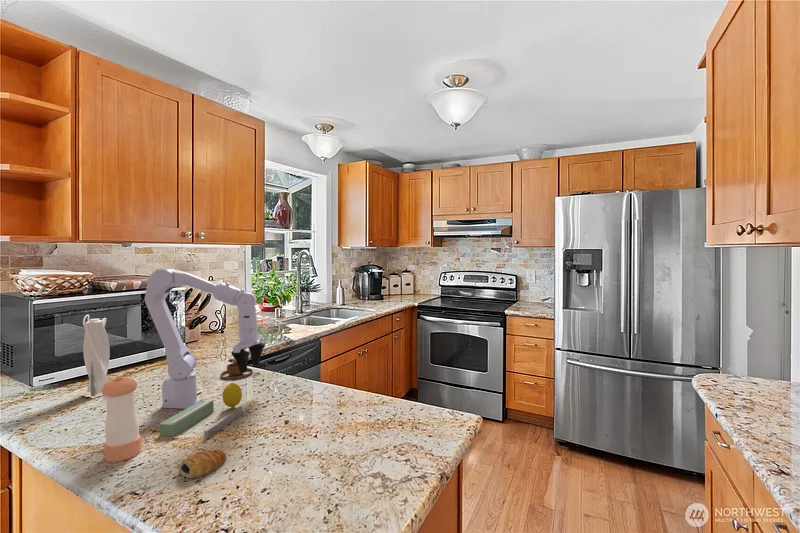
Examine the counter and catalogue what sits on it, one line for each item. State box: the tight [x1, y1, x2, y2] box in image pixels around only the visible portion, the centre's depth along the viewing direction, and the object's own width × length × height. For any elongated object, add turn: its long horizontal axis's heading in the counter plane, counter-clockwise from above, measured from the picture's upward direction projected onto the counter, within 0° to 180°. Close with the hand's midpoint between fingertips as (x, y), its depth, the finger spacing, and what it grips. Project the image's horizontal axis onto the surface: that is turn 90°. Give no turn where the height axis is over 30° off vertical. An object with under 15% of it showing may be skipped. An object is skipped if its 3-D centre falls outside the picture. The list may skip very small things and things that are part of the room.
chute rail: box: [203, 405, 244, 439], centre depth 110 cm, size 1×16×2 cm, turn 170°
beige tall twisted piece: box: [82, 314, 111, 396], centre depth 138 cm, size 8×8×28 cm
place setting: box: [219, 362, 261, 381], centre depth 159 cm, size 18×20×6 cm
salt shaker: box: [101, 375, 142, 463], centre depth 95 cm, size 7×7×19 cm
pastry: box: [178, 449, 227, 479], centre depth 88 cm, size 9×7×4 cm
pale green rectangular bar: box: [158, 399, 215, 437], centre depth 112 cm, size 4×16×4 cm, turn 169°
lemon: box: [222, 382, 243, 409], centre depth 122 cm, size 6×6×8 cm
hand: (249, 368), depth 131 cm, fingers open, 7 cm apart
